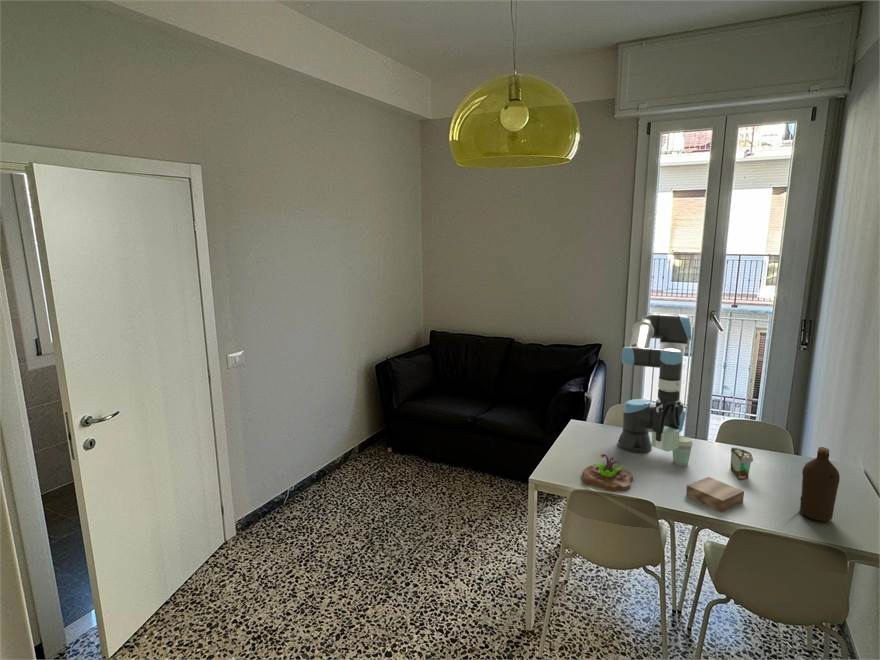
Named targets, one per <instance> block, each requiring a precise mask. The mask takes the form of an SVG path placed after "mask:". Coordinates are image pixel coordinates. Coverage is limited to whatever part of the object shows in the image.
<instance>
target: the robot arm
mask: <svg viewBox="0 0 880 660" xmlns="http://www.w3.org/2000/svg"><path fill="white" fill-rule="evenodd" d="M631 334H632V336H631V340H630V343H629V346H624V347H622V351H621V363H622V364H623V365H627V366H630V367H631V366H632V367H633V366H634V367H635V366H636V367H646V368H647V367H648V368H649V367H650V368H658V369H659V372H658V373H659V376H658V383H657V384H658V385H657V387H658V389H657V398H658V399H657V400H655V404H652V402H651V401H650V400H649V399H645V398H634V399H629V400H627V401H625V402H624V404H623V410H622V412H623V417H622V419H623V420H622V431H621V434H620V435H619V438H618V441H617V446H618V447H619V449H621V450H623V451H625V452H628V453H633V454H639V455H640V454H641V455H642V454H648V453H650V452H651V451H652V449H653V446H651V444H652V440H651V437H650V434H649V433H650V431H649V430H651V431H654V432H656V446H655V447H654V448H656V449H658V450H661V451H664V450H663V440H664V433H663V429H664V426H667V427H670V428H673V429H676V430H680V433H681V432H682V431H683V429H684V425H685V421H686V415H687V408H686V407H684V403H683V402H682V401H681V390H682V377H683V376H682V375H683V374H682V373H683V359H684V349H685V347H687V346H688V343H689V342H690V341H692V327H691V319H690V317H689V316H688V315H683V314H667V313H649V314H646V315H644V316H641V317H640V318H638V319H636V321H635V322H634V323H633V325H632V328H631ZM651 339H656V340H657V339H659V343H660V344H661V346H662V348H650V344H651V343H650V342H651ZM652 429H653V430H652Z"/></svg>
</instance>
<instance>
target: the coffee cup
mask: <svg viewBox="0 0 880 660" xmlns="http://www.w3.org/2000/svg"><path fill="white" fill-rule="evenodd" d="M692 440H693V439H691V438H690V437H688V436H684V435H679V447H678V448H677V449H674V450H672V462H673V464H674V465H676V466H679V467H687V466H688V465H689V461H690V457H691V451H692V447H693V444H694V443H693V441H692Z"/></svg>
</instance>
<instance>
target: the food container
mask: <svg viewBox="0 0 880 660" xmlns="http://www.w3.org/2000/svg"><path fill="white" fill-rule="evenodd" d="M753 458H754V457H753V454H752V453H751V452H750V451H748V450H745V449H742V448H738V447H731V449H730V470H731V472H732V473H733V474H735V475H734V476H735V477H736V479H737V480H738V481H745V480H747V479H749V475H750V469H751V465H752V463H753V462H754V459H753Z"/></svg>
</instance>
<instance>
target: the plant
mask: <svg viewBox="0 0 880 660" xmlns="http://www.w3.org/2000/svg"><path fill="white" fill-rule="evenodd" d="M599 458H600V459H603V458H605V459H606V462H605V463H604V462H602V463H598V462H596V464H592V465H589V466H587V467H585V468H584V470H582V473H581V475H582V476H581V477H582V483H583V484H585V485H587V486H594V487H596V488H601V489H604V490H605V491H612V492H617V491H622V492H627V491H629V490H630V489H631V483H632V482H633V481H634V476H633V474H632V473H631V472H630V471H629V470H628V469H622V468H623V464H622V463H621V461H617V460H615V458H614V457H613V456H610V458H609V456H608V455H607V454H604V453H602V454H601V453H600V454H599ZM614 460H615V461H614ZM612 461H613V462H612ZM616 463H617V464H618V466H615V464H616Z"/></svg>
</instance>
